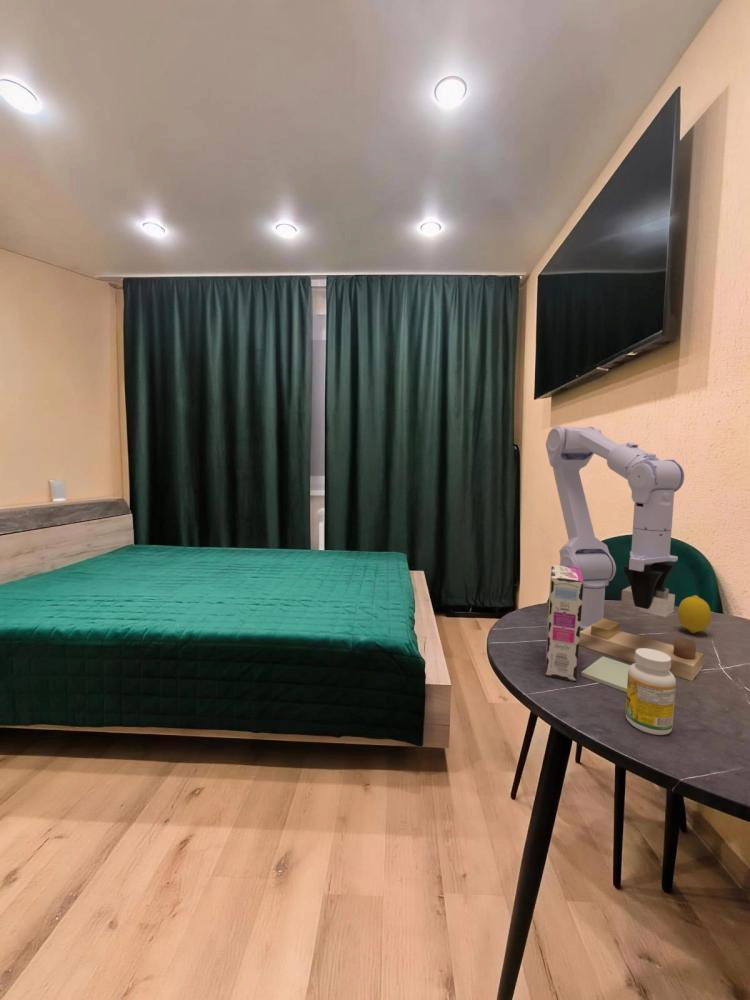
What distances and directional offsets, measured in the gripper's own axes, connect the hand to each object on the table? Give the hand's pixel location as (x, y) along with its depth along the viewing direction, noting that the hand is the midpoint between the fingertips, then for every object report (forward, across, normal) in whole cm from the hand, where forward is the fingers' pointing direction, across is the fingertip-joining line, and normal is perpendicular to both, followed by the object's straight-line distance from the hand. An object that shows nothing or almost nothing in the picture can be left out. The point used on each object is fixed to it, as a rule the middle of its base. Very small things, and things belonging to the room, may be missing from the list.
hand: (646, 604), depth 76 cm
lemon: (+10, +21, -3) cm, 23 cm away
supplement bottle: (+10, -22, -7) cm, 25 cm away
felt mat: (+10, -11, 0) cm, 15 cm away
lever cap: (+1, 0, 0) cm, 1 cm away
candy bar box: (+10, -14, +8) cm, 19 cm away
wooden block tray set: (+10, 0, +1) cm, 10 cm away
